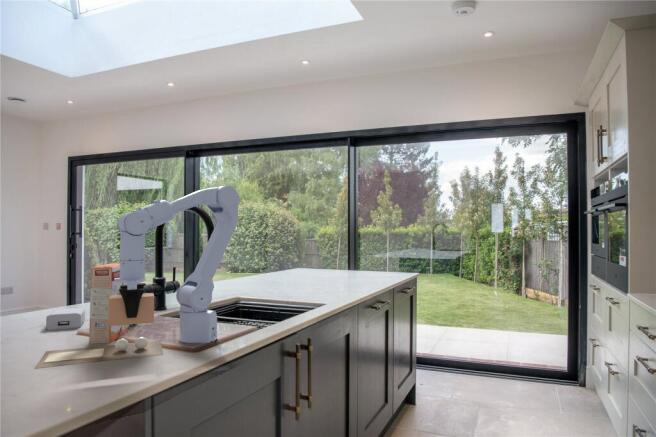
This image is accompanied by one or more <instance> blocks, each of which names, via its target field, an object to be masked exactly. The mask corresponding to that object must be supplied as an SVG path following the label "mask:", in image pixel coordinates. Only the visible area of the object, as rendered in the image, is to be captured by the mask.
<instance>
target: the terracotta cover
mask: <svg viewBox="0 0 656 437" xmlns="http://www.w3.org/2000/svg"><path fill="white" fill-rule="evenodd" d="M152 323H155V295H154V292H150V293H149V292H144V293H143V295H142V297H141V300H140V304H139V309H138V314H137V317H136V318H127V316H126V311H125V305H124V301H123V298H122V296H121V295H110V297H109V319H108V326H118V325H131V324H135V325H140V324H152Z"/></svg>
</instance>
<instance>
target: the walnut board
mask: <svg viewBox="0 0 656 437" xmlns="http://www.w3.org/2000/svg"><path fill="white" fill-rule="evenodd" d="M147 341H148V340H147ZM163 351H164V350H163V346H162V343H161V340H152V341H151V340H150V341H148V344H147V346H146V347H145V348H144V349H137V348H136V347H135V342H130V343H129V342H128V348H127V349H126V350H124V351H118V350H116V348H115V344H109V345H98V346H97V345H96V346H88V347H77V348H66V349H55V350H46V351H45V352H44V353H43V355H42V356H41V358H40V359H39V361H38V363H37V364H36V366H35V367H34V368H33V369H43V368H44V369H45V368H54V367H63V366H72V365H73V366H74V365H81V364H90V363H99V362H100V363H101V362H110V361H118V360H119V361H120V360H127V359H138V358H145V357H155V356H163V355H164V352H163Z"/></svg>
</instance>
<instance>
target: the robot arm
mask: <svg viewBox="0 0 656 437" xmlns="http://www.w3.org/2000/svg"><path fill="white" fill-rule="evenodd" d="M152 202H153V203H151V204H148V205H145V206H143V207H141V206H137V207H135V211H126V212H125V213H123V214H121V215H120V216H119V217H118V220H117V222H116V227H117V230H118V232H120V241H119V263H120V278H115V279H114V282H121V283H125V284H127V285H121V286H120V288H121V289H119V292H120V294H121V296H122V298H123V301H124V305H125V311H126V316H127V318H136V317H137V314H138V309H139V304H140V300H141V297H142V295H143V293H145V291H146V289H145V283H144V282H145V281H146V280H147V278H146V233H147V232H148V231H149V230H151V229H153V228H155V227H158V226H161V225H163V224H166V223H168V222H171V221H173V220H174V218H175V216H176V214H177V213H180V212H183V211H185V210H188V209H191V208H194V207H196V206H199V205H202V206H207V208H208V209H209V210H210V212H211V213H212V214H213V215H214V217H215V220H216V222H217V223H215V224H216V225H215V226H214V229H213V231H212V232H211V234H210V238H209V240H208V242H207V244H206V246H205V248H204V250H203V251H202V254H201V256H200V258H199V261H198V263H197V265H196V267H195V270H194V271H192V273H191V274H190V275H189V276H187V278H185V279H186V280H185V282H183V284H182V285H181V286H179V287H178V288H177V290H176V294H175V298H176V301H177V303H178V304H179V305H180V306H179V307H180V308H179V342H181V343H187V344H188V343H189V344H190V343H191V344H192V343H193V344H194V343H199V344H200V343H201V344H202V343H203V344H204V343H207V344H209V343H211V342H215V341H214V340H215V339H217V338H218V316H217V312H216V310H212V309H211V310H210V309H208V307H209V306H210V305H211V303H212V300H213V291H214V289H215V284H214V280H213V279H214V276H215V274H216V272H217V270H218V268H219V266H220V263H221V261H222V259H223V257H224V254H225V252H226V250H227V248H228V246H229V243H230V241H231V239H232V237H233V234H234V233H235V230H236V228H237V226H238V223H239V205H240V203H241V198H240V195H239V193H238V190H237V189H236V188H235V187H234V186H233V185H222V186H217V187H215V186H212V187H208V188H203V189H199V190H196V191H193V192H192V193H189V194H187V195H185V196H183V197H180V198H177V199H175V200H173V201H171V202H169V200H165V199H162V200H160V198H159V199H158V198H157V199H155V200H153V201H152ZM217 340H218V339H217Z"/></svg>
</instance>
